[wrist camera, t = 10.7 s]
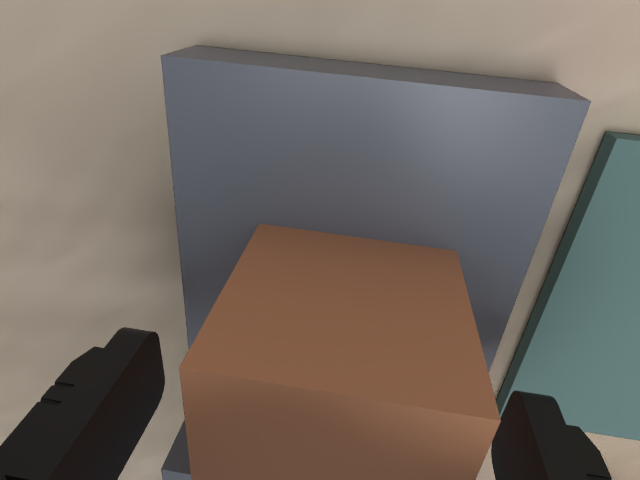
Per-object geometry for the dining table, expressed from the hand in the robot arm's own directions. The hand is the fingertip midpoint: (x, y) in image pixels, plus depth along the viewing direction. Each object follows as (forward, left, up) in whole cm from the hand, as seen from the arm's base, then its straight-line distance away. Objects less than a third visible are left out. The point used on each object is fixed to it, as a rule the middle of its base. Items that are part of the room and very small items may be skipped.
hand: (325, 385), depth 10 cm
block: (0, 0, -3) cm, 3 cm away
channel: (-9, 0, -5) cm, 10 cm away
